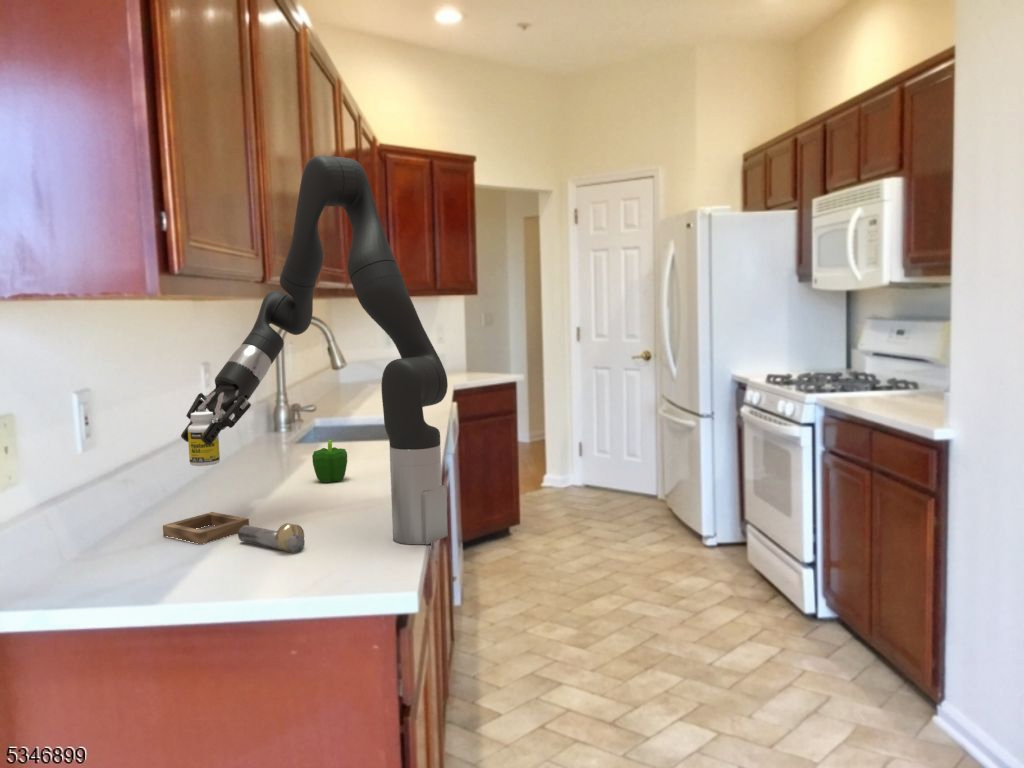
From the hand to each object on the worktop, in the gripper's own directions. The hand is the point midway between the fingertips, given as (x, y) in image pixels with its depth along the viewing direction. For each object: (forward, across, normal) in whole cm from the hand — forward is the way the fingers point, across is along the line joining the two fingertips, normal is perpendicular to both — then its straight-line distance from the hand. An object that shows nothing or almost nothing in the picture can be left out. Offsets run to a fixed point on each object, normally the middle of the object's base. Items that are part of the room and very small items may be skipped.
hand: (195, 440), depth 147 cm
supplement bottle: (+2, 0, +5) cm, 5 cm away
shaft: (+12, +18, +14) cm, 26 cm away
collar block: (+12, 0, +14) cm, 18 cm away
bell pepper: (-19, -12, +46) cm, 51 cm away
